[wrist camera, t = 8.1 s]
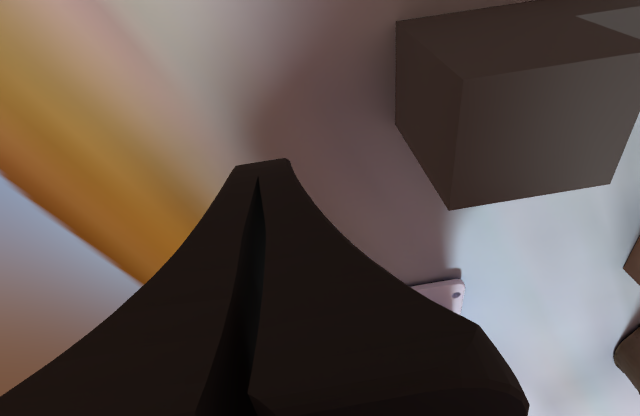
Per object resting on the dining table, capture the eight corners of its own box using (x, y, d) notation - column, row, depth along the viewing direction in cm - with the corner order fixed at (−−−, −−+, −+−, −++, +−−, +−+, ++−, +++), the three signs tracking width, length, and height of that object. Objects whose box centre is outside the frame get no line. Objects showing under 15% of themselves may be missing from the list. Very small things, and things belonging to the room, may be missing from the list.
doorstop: (394, 123, 17) (448, 210, 12) (395, 20, 14) (463, 79, 10) (579, 93, 17) (704, 168, 12) (611, -12, 15) (783, 29, 10)
